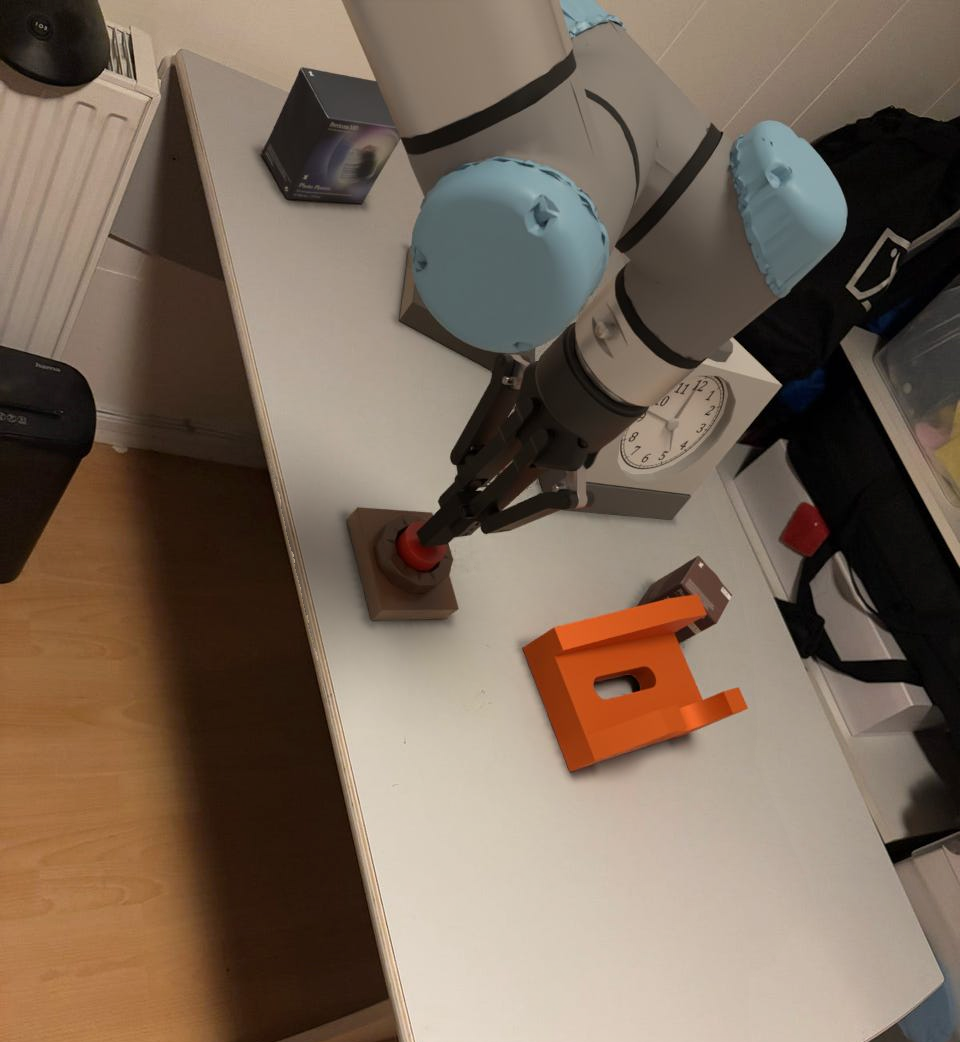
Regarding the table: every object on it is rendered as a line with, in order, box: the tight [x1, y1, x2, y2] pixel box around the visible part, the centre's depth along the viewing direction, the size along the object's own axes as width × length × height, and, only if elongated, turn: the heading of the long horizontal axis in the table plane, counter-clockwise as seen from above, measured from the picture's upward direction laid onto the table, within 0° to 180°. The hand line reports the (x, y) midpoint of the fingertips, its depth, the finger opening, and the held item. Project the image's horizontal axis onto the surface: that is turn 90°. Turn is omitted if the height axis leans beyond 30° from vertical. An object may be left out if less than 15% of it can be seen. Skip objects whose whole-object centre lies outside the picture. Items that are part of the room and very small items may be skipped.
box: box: [637, 555, 733, 644], centre depth 92 cm, size 6×6×7 cm
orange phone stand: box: [522, 594, 749, 773], centre depth 82 cm, size 18×13×8 cm
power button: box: [397, 522, 446, 571], centre depth 73 cm, size 4×4×2 cm
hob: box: [399, 245, 536, 372], centre depth 95 cm, size 16×12×3 cm
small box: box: [261, 66, 401, 205], centre depth 87 cm, size 11×6×10 cm, turn 126°
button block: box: [346, 506, 459, 621], centre depth 75 cm, size 8×10×4 cm
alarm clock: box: [538, 336, 783, 521], centre depth 92 cm, size 20×16×20 cm
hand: (431, 538), depth 72 cm, fingers closed
